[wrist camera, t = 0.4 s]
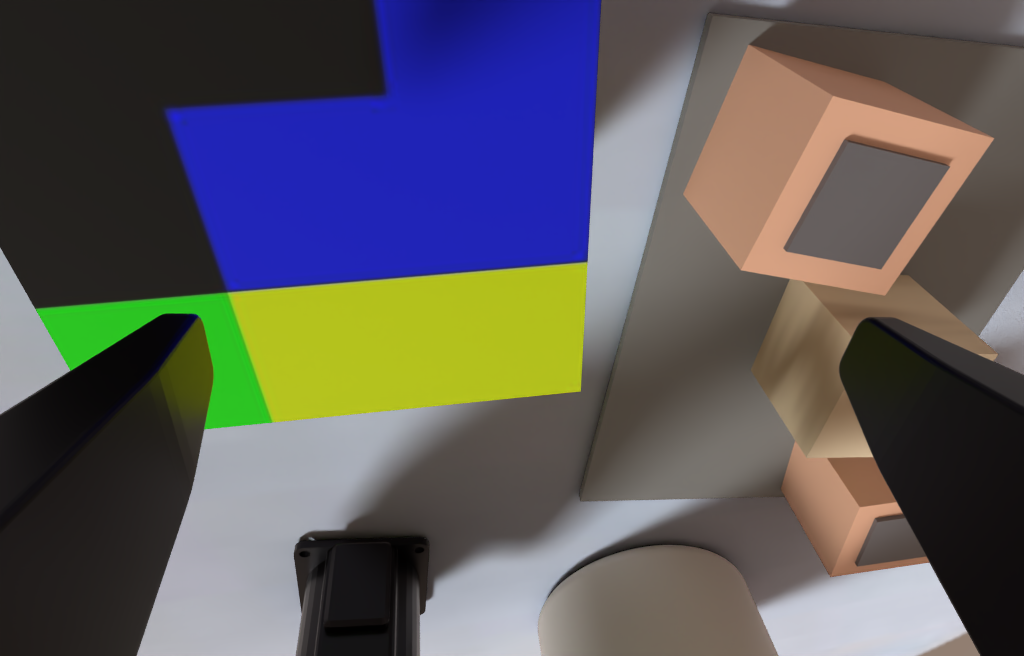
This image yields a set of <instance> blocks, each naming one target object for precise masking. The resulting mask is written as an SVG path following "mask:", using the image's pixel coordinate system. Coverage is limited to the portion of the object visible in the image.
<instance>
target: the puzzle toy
mask: <svg viewBox="0 0 1024 656" xmlns="http://www.w3.org/2000/svg"><path fill="white" fill-rule="evenodd" d="M600 14H601V0H0V248H1V249H2V251H3V253H4V255H5V257H6V258H7V260H8V262H9V264H10V265H11V267H12V269H13V271H14V272H15V274H16V276H17V278H18V279H19V281H20V283H21V285H22V286H23V288H24V290H25V292H26V293H27V295H28V297H29V299H30V300H31V302H32V304H33V306H34V307H35V309H36V311H37V313H38V314H39V316H40V318H41V320H42V321H43V323H44V325H45V327H46V328H47V330H48V332H49V334H50V335H51V337H52V339H53V341H54V342H55V344H56V346H57V348H58V349H59V351H60V353H61V355H62V356H63V358H64V360H65V362H66V363H67V365H68V367H69V369H70V371H71V370H73V369H74V368H76V367H77V366H79V365H81V364H82V363H84V362H86V361H87V360H89V359H90V358H92V357H94V356H95V355H97V354H98V353H100V352H102V351H103V350H105V349H106V348H108V347H110V346H111V345H113V344H114V343H116V342H118V341H119V340H121V339H123V338H124V337H126V336H127V335H129V334H131V333H132V332H134V331H135V330H137V329H139V328H140V327H142V326H143V325H145V324H147V323H148V322H150V321H151V320H153V319H155V318H156V317H158V316H160V315H162V314H166V313H182V314H196V315H198V316H199V317H200V318H201V320H202V322H203V324H204V328H205V332H206V337H207V341H208V346H209V350H210V355H211V359H212V364H213V371H214V379H213V387H212V392H211V397H210V402H209V407H208V412H207V417H206V422H205V428H204V429H212V428H222V427H232V426H242V425H252V424H262V423H272V422H282V421H292V420H302V419H312V418H321V417H331V416H341V415H351V414H361V413H371V412H381V411H391V410H401V409H411V408H421V407H431V406H441V405H451V404H461V403H471V402H481V401H490V400H500V399H510V398H520V397H530V396H540V395H550V394H560V393H570V392H580V391H581V375H582V356H583V337H584V318H585V299H586V280H587V261H588V242H589V223H590V204H591V185H592V166H593V147H594V128H595V109H596V90H597V71H598V52H599V33H600Z"/></svg>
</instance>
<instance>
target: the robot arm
mask: <svg viewBox="0 0 1024 656" xmlns="http://www.w3.org/2000/svg"><path fill="white" fill-rule="evenodd" d="M839 376H840V379H841V382H842V384H843V386H844V389H845V391H846V394H847V396H848V398H849V401H850V403H851V406H852V408H853V410H854V413H855V415H856V417H857V420H858V422H859V425H860V427H861V429H862V432H863V434H864V436H865V439H866V441H867V444H868V446H869V448H870V451H871V453H872V455H873V457H874V460H875V462H876V464H877V466H878V468H879V470H880V472H881V474H882V476H883V478H884V480H885V482H886V484H887V485H888V487H889V489H890V491H891V493H892V495H893V496H894V498H895V500H896V502H897V504H898V506H899V507H900V509H901V511H902V513H903V515H904V517H905V518H906V520H907V522H908V524H909V526H910V528H911V529H912V531H913V533H914V535H915V537H916V539H917V540H918V542H919V544H920V546H921V548H922V550H923V551H924V553H925V555H926V557H927V559H928V561H929V562H930V564H931V566H932V568H933V570H934V572H935V573H936V575H937V577H938V579H939V581H940V583H941V584H942V586H943V588H944V590H945V592H946V594H947V595H948V597H949V599H950V601H951V603H952V605H953V606H954V608H955V610H956V612H957V614H958V616H959V617H960V619H961V621H962V623H963V625H964V627H965V628H966V630H967V632H968V634H969V636H970V638H971V639H972V641H973V643H974V645H975V647H976V649H977V650H978V652H979V654H980V656H1024V375H1022V374H1020V373H1018V372H1016V371H1013V370H1011V369H1009V368H1007V367H1005V366H1002V365H1000V364H998V363H996V362H993V361H991V360H989V359H987V358H984V357H982V356H980V355H978V354H976V353H973V352H971V351H969V350H967V349H964V348H962V347H960V346H958V345H955V344H953V343H951V342H949V341H947V340H944V339H942V338H940V337H938V336H935V335H933V334H931V333H929V332H926V331H924V330H922V329H920V328H917V327H915V326H913V325H911V324H909V323H906V322H904V321H902V320H900V319H897V318H894V317H867V318H865V319H863V320H862V321H861V322H860V323H859V324H858V326H857V327H856V329H855V331H854V333H853V335H852V337H851V340H850V342H849V344H848V346H847V348H846V350H845V352H844V354H843V356H842V358H841V360H840V364H839ZM213 379H214V371H213V364H212V359H211V355H210V350H209V346H208V341H207V337H206V332H205V328H204V324H203V322H202V320H201V318H200V317H199V316H198V315H196V314H182V313H166V314H162V315H160V316H158V317H156V318H155V319H153V320H151V321H150V322H148V323H147V324H145V325H143V326H142V327H140V328H139V329H137V330H135V331H134V332H132V333H131V334H129V335H127V336H126V337H124V338H123V339H121V340H119V341H118V342H116V343H114V344H113V345H111V346H110V347H108V348H106V349H105V350H103V351H102V352H100V353H98V354H97V355H95V356H94V357H92V358H90V359H89V360H87V361H86V362H84V363H82V364H81V365H79V366H77V367H76V368H74V369H73V370H71V371H69V372H68V373H66V374H65V375H63V376H61V377H60V378H58V379H57V380H55V381H53V382H52V383H50V384H48V385H47V386H45V387H44V388H42V389H40V390H39V391H37V392H36V393H34V394H32V395H31V396H29V397H28V398H26V399H24V400H23V401H21V402H20V403H18V404H16V405H15V406H13V407H11V408H10V409H8V410H7V411H5V412H3V413H2V414H0V656H137V653H138V650H139V647H140V644H141V641H142V638H143V635H144V632H145V629H146V626H147V623H148V620H149V617H150V614H151V611H152V608H153V605H154V602H155V599H156V596H157V593H158V590H159V587H160V584H161V581H162V578H163V575H164V572H165V569H166V566H167V563H168V560H169V557H170V555H171V552H172V549H173V546H174V543H175V540H176V537H177V534H178V531H179V528H180V525H181V522H182V519H183V516H184V513H185V510H186V507H187V504H188V500H189V497H190V494H191V490H192V486H193V482H194V477H195V473H196V468H197V463H198V458H199V453H200V448H201V443H202V438H203V433H204V428H205V422H206V417H207V412H208V407H209V402H210V397H211V392H212V387H213ZM294 560H295V567H296V574H297V582H298V589H299V596H300V604H301V611H302V616H301V623H300V630H299V637H298V644H297V650H296V656H420V615H421V614H423V613H424V612H425V607H426V592H427V577H428V562H429V541H428V540H427V539H426V538H422V537H413V538H381V539H349V540H317V541H301V542H299V543H297V544H296V545H295V550H294Z"/></svg>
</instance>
